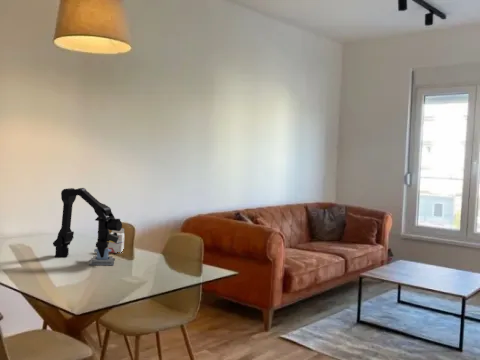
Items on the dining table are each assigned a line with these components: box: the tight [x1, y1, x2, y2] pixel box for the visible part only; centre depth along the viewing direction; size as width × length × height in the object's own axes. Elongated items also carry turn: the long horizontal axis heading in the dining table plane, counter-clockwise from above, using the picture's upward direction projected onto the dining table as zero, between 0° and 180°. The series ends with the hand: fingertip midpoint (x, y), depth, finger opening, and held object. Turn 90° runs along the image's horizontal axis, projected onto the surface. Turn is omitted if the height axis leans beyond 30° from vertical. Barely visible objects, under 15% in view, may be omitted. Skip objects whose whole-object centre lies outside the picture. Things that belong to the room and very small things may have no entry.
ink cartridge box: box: [108, 227, 125, 254], centre depth 308 cm, size 9×5×15 cm, turn 84°
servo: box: [93, 247, 111, 259], centre depth 281 cm, size 9×4×6 cm, turn 101°
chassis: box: [88, 255, 116, 266], centre depth 282 cm, size 13×13×2 cm
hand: (102, 256), depth 282 cm, fingers closed on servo, 4 cm apart
